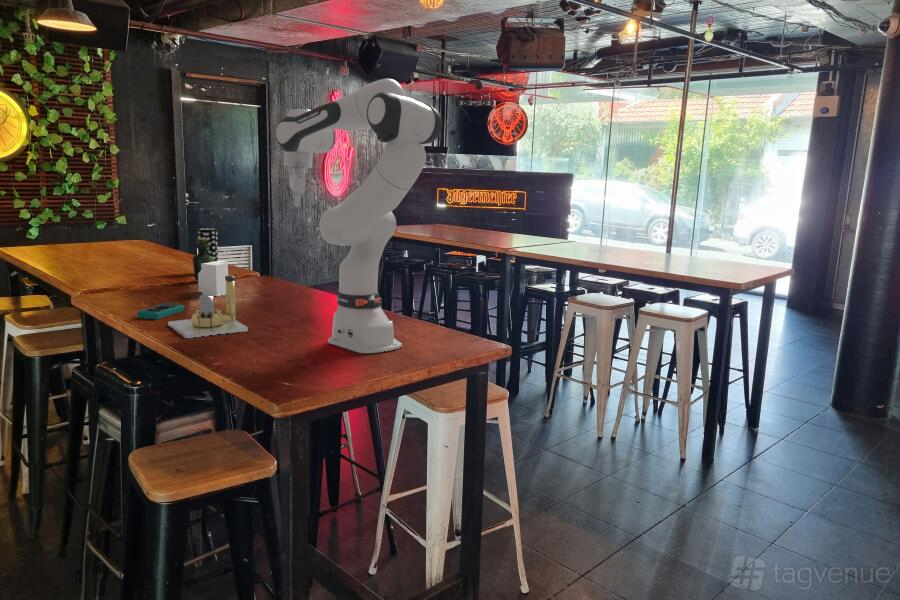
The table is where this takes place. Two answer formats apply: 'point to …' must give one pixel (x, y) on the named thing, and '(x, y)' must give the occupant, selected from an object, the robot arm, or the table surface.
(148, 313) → the digital multimeter
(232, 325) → the spigot base
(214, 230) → the white-spotted black cylinder
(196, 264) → the potion bottle
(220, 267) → the corner bracket
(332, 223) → the robot arm
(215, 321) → the brass metal fixture
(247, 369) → the table surface
